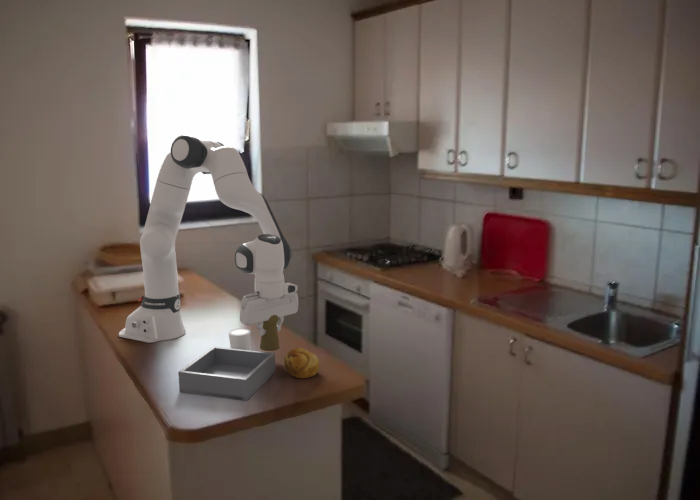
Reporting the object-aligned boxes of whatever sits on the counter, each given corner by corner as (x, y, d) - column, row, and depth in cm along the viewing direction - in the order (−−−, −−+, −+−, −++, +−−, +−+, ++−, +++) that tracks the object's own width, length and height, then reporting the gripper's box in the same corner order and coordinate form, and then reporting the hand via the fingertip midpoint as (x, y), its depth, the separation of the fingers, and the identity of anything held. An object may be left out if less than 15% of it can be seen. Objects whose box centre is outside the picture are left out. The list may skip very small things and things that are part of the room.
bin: (179, 392, 171) (178, 371, 169) (214, 365, 190) (213, 346, 188) (246, 401, 165) (246, 379, 164) (275, 372, 184) (275, 353, 183)
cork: (275, 351, 188) (275, 316, 186) (256, 349, 189) (256, 314, 187) (282, 345, 194) (282, 311, 191) (264, 343, 195) (264, 309, 193)
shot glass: (241, 358, 195) (240, 336, 194) (224, 353, 199) (224, 332, 198) (255, 351, 201) (254, 330, 200) (239, 347, 205) (238, 326, 203)
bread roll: (279, 367, 189) (278, 341, 187) (309, 362, 192) (309, 337, 191) (291, 383, 177) (291, 356, 175) (324, 378, 180) (323, 351, 179)
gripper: (248, 297, 178) (248, 343, 181) (301, 285, 193) (301, 327, 196) (234, 293, 182) (235, 338, 185) (288, 281, 197) (288, 323, 200)
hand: (269, 332), depth 191 cm, fingers closed on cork, 4 cm apart
